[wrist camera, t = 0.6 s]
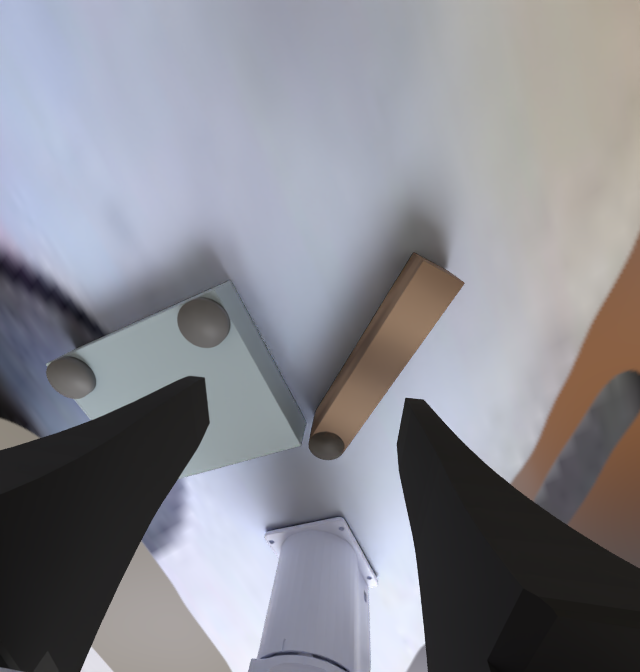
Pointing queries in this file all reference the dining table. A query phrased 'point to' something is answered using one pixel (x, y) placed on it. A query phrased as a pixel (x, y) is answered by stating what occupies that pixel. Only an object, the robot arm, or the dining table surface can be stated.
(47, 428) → the dining table surface
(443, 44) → the dining table surface
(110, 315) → the dining table surface
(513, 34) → the dining table surface
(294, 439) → the grey flat block
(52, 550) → the robot arm
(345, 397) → the folding leg
